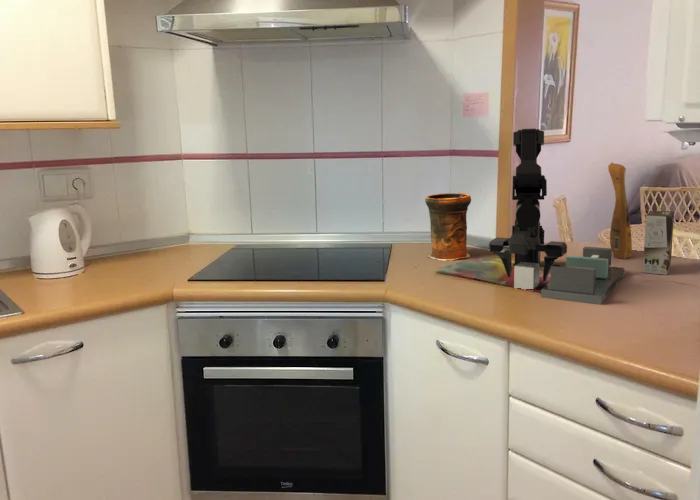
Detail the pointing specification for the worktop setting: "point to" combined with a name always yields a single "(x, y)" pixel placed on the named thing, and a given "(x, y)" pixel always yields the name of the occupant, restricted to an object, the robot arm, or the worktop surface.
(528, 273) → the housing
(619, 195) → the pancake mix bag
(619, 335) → the worktop surface
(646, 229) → the coffee box
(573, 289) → the press
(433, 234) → the vessel
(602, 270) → the ram
